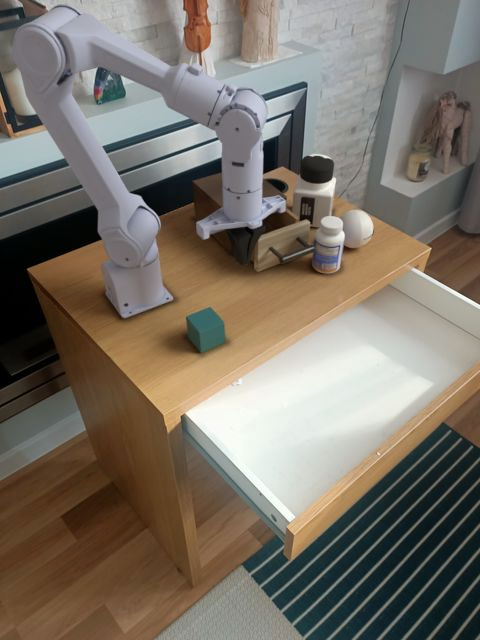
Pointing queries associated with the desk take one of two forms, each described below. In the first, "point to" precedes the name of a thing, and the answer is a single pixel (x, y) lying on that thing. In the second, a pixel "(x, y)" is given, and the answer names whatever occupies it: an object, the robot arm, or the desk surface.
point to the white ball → (356, 228)
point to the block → (205, 329)
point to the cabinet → (219, 201)
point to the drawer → (281, 240)
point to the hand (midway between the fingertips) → (242, 261)
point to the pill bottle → (328, 245)
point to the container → (314, 189)
